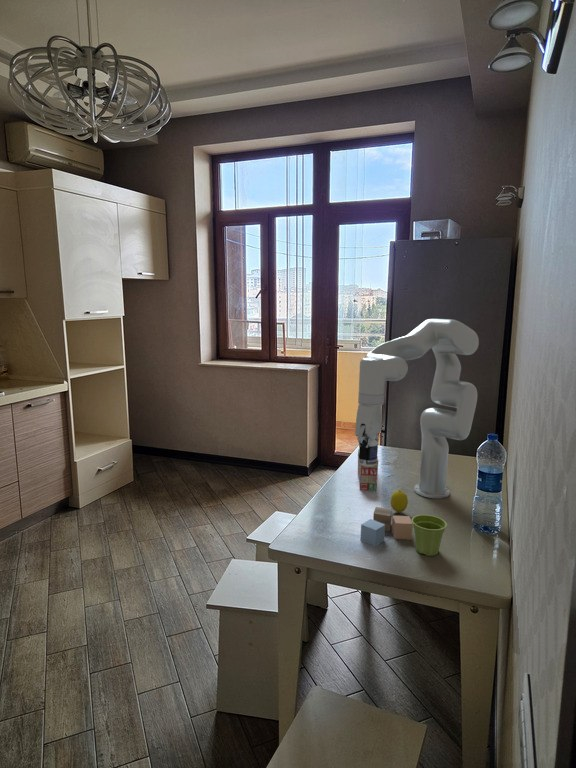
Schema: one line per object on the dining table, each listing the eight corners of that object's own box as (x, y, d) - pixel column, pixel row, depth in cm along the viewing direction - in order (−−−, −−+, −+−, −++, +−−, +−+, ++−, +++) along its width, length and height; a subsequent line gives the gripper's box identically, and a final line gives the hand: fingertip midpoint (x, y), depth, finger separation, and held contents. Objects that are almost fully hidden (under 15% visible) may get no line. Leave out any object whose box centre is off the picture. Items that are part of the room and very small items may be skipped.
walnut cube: (374, 521, 150) (375, 506, 149) (390, 524, 149) (391, 509, 148) (372, 528, 145) (373, 513, 145) (389, 531, 144) (390, 515, 143)
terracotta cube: (391, 530, 144) (392, 515, 143) (408, 531, 144) (409, 516, 143) (394, 538, 139) (395, 523, 138) (411, 539, 139) (412, 523, 138)
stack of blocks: (357, 470, 196) (358, 441, 193) (372, 471, 195) (373, 442, 193) (359, 490, 175) (361, 458, 172) (376, 491, 174) (378, 459, 172)
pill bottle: (379, 463, 146) (380, 432, 144) (373, 468, 141) (374, 436, 139) (362, 459, 148) (364, 429, 147) (356, 464, 144) (357, 434, 142)
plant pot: (403, 543, 136) (405, 515, 135) (433, 540, 138) (435, 513, 137) (419, 561, 127) (422, 531, 126) (451, 557, 130) (453, 528, 128)
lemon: (394, 517, 153) (396, 494, 152) (387, 510, 158) (388, 487, 157) (410, 515, 155) (411, 492, 153) (401, 508, 160) (403, 486, 158)
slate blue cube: (369, 534, 142) (370, 518, 141) (384, 540, 138) (385, 524, 137) (360, 540, 138) (361, 524, 137) (375, 546, 135) (375, 530, 134)
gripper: (370, 392, 150) (368, 447, 153) (347, 402, 136) (344, 462, 139) (393, 395, 146) (390, 451, 149) (371, 405, 132) (368, 467, 135)
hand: (368, 456), depth 144 cm, fingers closed on pill bottle, 5 cm apart
